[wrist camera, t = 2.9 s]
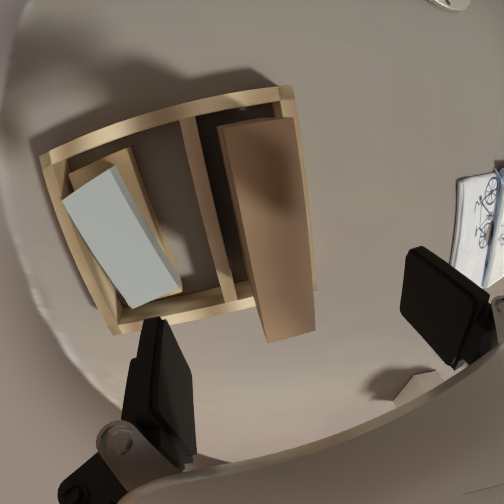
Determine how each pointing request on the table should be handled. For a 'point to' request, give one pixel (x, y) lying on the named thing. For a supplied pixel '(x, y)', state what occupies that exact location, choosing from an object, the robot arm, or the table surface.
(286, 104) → the rack
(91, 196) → the offcut top
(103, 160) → the block
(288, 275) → the brown flat block
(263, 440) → the table surface
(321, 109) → the table surface
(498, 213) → the white patterned flat part
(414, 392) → the medicine bottle
